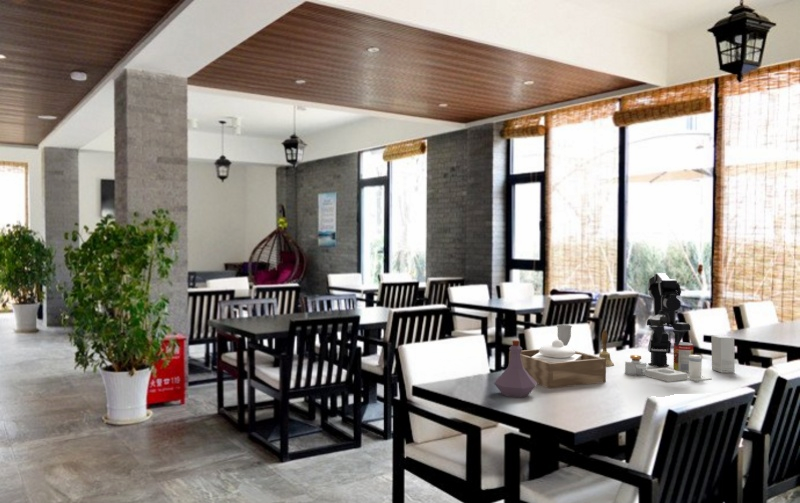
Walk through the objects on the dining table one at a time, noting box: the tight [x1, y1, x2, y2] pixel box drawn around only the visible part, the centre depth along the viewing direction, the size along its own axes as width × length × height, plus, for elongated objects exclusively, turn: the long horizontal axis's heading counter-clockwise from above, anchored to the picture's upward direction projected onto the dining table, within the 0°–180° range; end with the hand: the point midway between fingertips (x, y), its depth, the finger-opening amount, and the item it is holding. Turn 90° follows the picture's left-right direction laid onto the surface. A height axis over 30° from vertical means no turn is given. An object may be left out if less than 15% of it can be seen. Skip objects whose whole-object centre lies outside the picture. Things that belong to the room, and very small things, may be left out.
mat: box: [686, 374, 713, 382], centre depth 258 cm, size 9×9×1 cm
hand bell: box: [598, 329, 615, 367], centre depth 285 cm, size 8×8×16 cm
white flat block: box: [644, 367, 688, 382], centre depth 258 cm, size 12×11×2 cm
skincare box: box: [710, 334, 736, 374], centre depth 272 cm, size 8×7×16 cm
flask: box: [493, 339, 538, 399], centre depth 227 cm, size 16×16×20 cm
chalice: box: [556, 324, 573, 346], centre depth 284 cm, size 7×7×18 cm
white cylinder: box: [688, 354, 703, 378], centre depth 258 cm, size 5×5×9 cm
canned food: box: [672, 341, 694, 373], centre depth 273 cm, size 8×8×12 cm
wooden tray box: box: [508, 348, 607, 389], centre depth 256 cm, size 28×28×10 cm
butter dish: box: [532, 339, 582, 363], centre depth 256 cm, size 18×18×16 cm
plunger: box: [629, 354, 642, 364], centre depth 265 cm, size 4×4×7 cm
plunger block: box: [624, 360, 647, 377], centre depth 265 cm, size 6×6×5 cm
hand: (667, 344), depth 264 cm, fingers open, 9 cm apart
